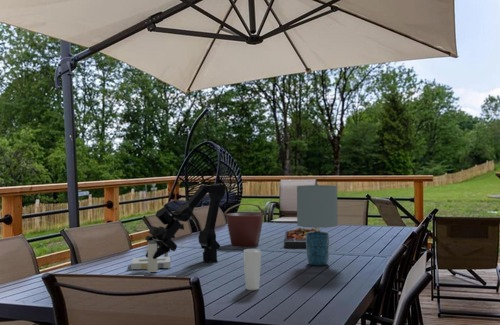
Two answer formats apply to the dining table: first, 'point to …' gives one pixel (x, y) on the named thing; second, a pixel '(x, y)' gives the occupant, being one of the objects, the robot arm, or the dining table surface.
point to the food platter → (296, 238)
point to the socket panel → (143, 263)
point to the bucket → (244, 227)
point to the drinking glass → (252, 268)
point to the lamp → (317, 219)
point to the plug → (151, 251)
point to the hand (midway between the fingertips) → (149, 257)
